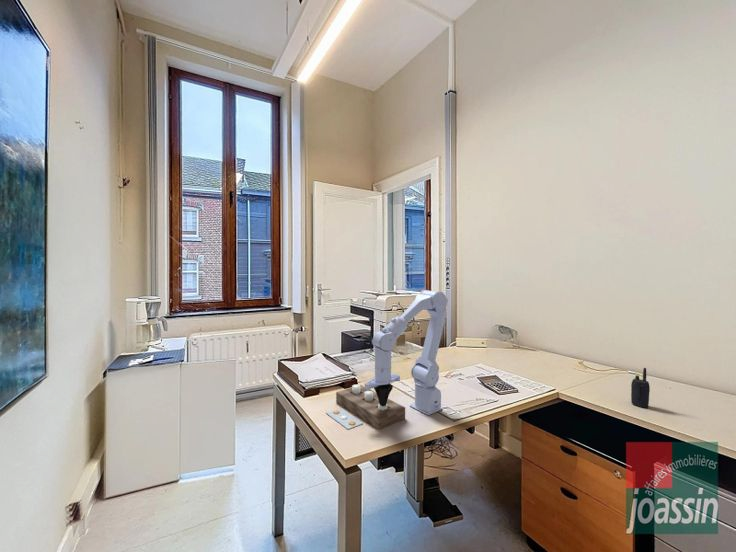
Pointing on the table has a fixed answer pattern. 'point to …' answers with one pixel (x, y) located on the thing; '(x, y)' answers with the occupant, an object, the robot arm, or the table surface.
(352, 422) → the pattern card
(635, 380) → the two-way radio
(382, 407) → the button
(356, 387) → the button
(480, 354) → the table surface
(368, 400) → the middle button
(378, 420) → the button box
